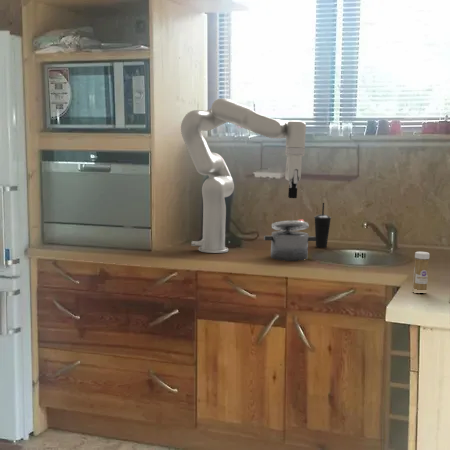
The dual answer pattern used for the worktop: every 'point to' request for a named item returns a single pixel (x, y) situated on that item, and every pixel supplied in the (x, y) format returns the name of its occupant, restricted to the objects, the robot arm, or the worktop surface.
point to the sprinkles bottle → (421, 270)
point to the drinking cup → (322, 229)
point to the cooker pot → (289, 245)
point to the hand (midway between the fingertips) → (292, 197)
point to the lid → (290, 225)
